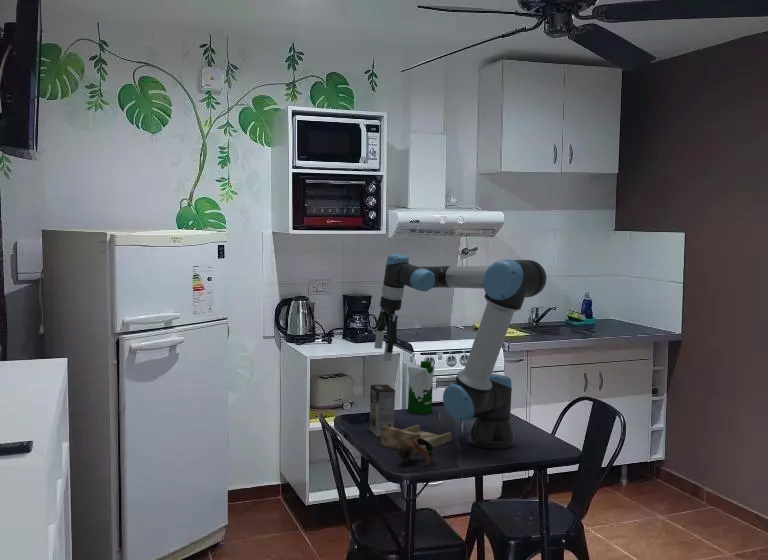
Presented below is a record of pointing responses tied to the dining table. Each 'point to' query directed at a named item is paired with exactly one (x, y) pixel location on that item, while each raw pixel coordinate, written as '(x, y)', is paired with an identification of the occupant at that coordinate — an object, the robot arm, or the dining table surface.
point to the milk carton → (420, 388)
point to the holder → (411, 437)
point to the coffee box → (381, 408)
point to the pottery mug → (407, 450)
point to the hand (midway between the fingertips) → (382, 354)
